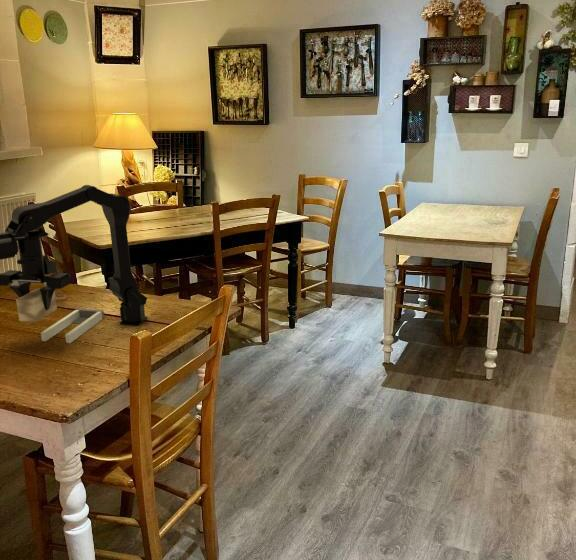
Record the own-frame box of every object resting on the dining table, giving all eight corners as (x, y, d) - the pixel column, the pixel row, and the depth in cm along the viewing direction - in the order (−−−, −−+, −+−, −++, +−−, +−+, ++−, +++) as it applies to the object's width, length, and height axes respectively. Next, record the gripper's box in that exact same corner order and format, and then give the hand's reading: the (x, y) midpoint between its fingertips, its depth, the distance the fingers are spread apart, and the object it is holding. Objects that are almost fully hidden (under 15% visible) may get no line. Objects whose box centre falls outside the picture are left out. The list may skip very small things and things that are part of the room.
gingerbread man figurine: (67, 297, 204) (63, 264, 200) (66, 300, 200) (62, 267, 197) (40, 299, 202) (35, 265, 198) (38, 302, 198) (33, 268, 195)
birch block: (56, 309, 165) (54, 288, 163) (36, 322, 156) (33, 300, 154) (40, 308, 166) (38, 288, 164) (19, 320, 157) (16, 299, 155)
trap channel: (104, 317, 185) (103, 310, 184) (70, 343, 166) (69, 335, 165) (78, 316, 186) (77, 308, 185) (41, 340, 167) (40, 332, 166)
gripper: (78, 248, 162) (84, 301, 167) (18, 245, 165) (25, 297, 170) (56, 258, 152) (63, 315, 156) (-8, 255, 155) (1, 310, 159)
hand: (38, 309), depth 161 cm, fingers closed on birch block, 5 cm apart
